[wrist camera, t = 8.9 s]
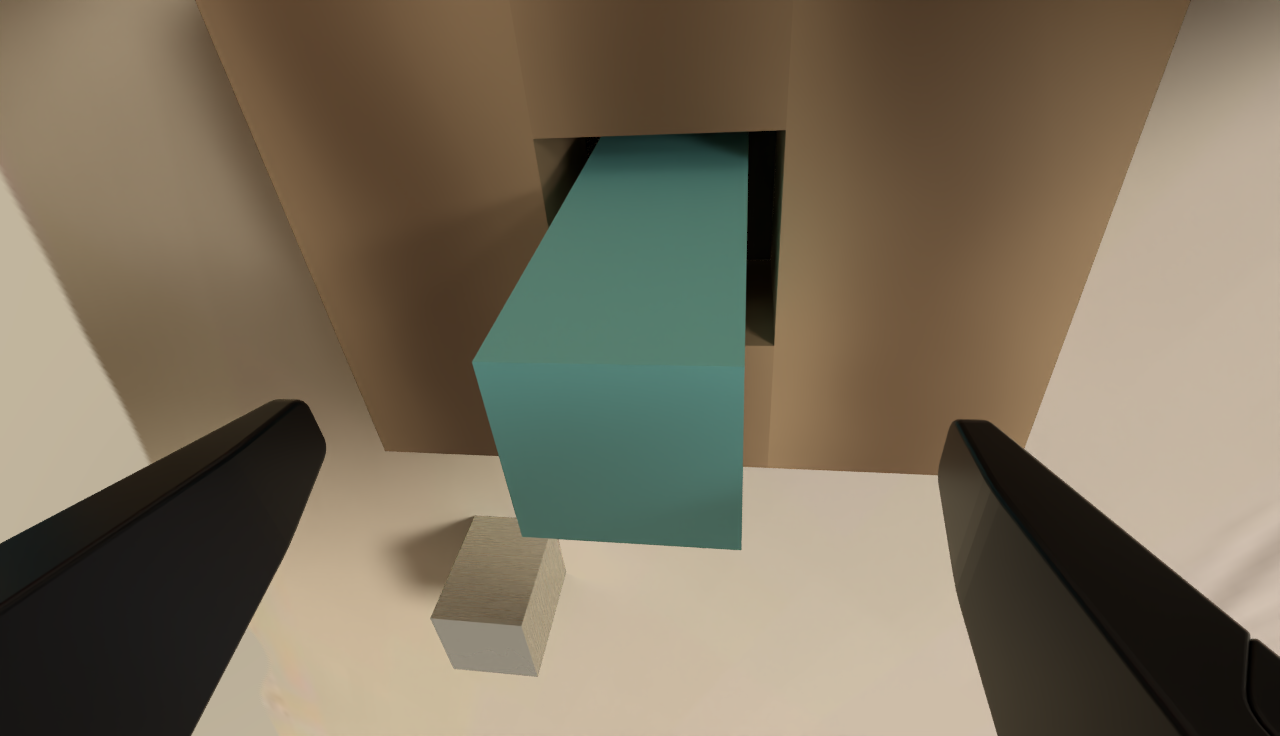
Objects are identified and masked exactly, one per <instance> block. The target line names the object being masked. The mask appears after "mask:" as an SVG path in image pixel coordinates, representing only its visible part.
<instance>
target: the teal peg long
mask: <svg viewBox="0 0 1280 736" xmlns="http://www.w3.org/2000/svg"><path fill="white" fill-rule="evenodd" d="M748 146H749V131H746V132H717V133H688V134H659V135H631V136H602V137H601V138H600V140H599V141H598V143H597V145H596V147H595V148H594V150H593V152H592V154H591V155H590V157H589V159H588V161H587V162H586V164H585V166H584V168H583V169H582V171H581V173H580V174H579V176H578V178H577V180H576V181H575V183H574V185H573V187H572V188H571V190H570V192H569V194H568V195H567V197H566V199H565V201H564V202H563V204H562V206H561V208H560V209H559V211H558V213H557V215H556V216H555V218H554V220H553V222H552V223H551V225H550V227H549V229H548V230H547V232H546V234H545V236H544V237H543V239H542V241H541V242H540V244H539V246H538V248H537V249H536V251H535V253H534V255H533V256H532V258H531V260H530V262H529V263H528V265H527V267H526V269H525V270H524V272H523V274H522V276H521V277H520V279H519V281H518V283H517V284H516V286H515V288H514V290H513V291H512V293H511V295H510V297H509V298H508V300H507V302H506V304H505V305H504V307H503V309H502V310H501V312H500V314H499V316H498V317H497V319H496V321H495V323H494V324H493V326H492V328H491V330H490V331H489V333H488V335H487V337H486V338H485V340H484V342H483V344H482V345H481V347H480V349H479V351H478V352H477V354H476V356H475V358H474V359H473V361H472V364H473V368H474V371H475V375H476V378H477V381H478V385H479V388H480V392H481V395H482V399H483V402H484V406H485V409H486V413H487V416H488V420H489V423H490V427H491V430H492V434H493V437H494V441H495V444H496V448H497V451H498V455H499V458H500V462H501V465H502V469H503V472H504V476H505V479H506V483H507V486H508V489H509V493H510V496H511V500H512V503H513V507H514V510H515V514H516V517H517V521H518V524H519V528H520V531H521V535H522V537H532V538H549V539H565V540H582V541H598V542H615V543H631V544H648V545H664V546H681V547H697V548H714V549H730V550H741V539H742V483H743V428H744V373H745V316H746V259H747V203H748Z"/></svg>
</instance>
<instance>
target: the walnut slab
mask: <svg viewBox="0 0 1280 736" xmlns="http://www.w3.org/2000/svg"><path fill="white" fill-rule="evenodd" d="M195 1H196V3H197V6H198V8H199V11H200V13H201V15H202V18H203V20H204V22H205V25H206V27H207V29H208V32H209V34H210V37H211V39H212V41H213V44H214V46H215V48H216V51H217V53H218V56H219V58H220V60H221V63H222V65H223V67H224V70H225V72H226V75H227V77H228V79H229V82H230V84H231V86H232V89H233V91H234V93H235V96H236V98H237V101H238V103H239V105H240V108H241V110H242V112H243V115H244V117H245V120H246V122H247V124H248V127H249V129H250V131H251V134H252V136H253V139H254V141H255V143H256V146H257V148H258V150H259V153H260V155H261V157H262V160H263V162H264V165H265V167H266V169H267V172H268V174H269V176H270V179H271V181H272V184H273V186H274V188H275V191H276V193H277V195H278V198H279V200H280V203H281V205H282V207H283V210H284V212H285V214H286V217H287V219H288V221H289V224H290V226H291V229H292V231H293V233H294V236H295V238H296V240H297V243H298V245H299V248H300V250H301V252H302V255H303V257H304V259H305V262H306V264H307V267H308V269H309V271H310V274H311V276H312V278H313V281H314V283H315V285H316V288H317V290H318V293H319V295H320V297H321V300H322V302H323V304H324V307H325V309H326V312H327V314H328V316H329V319H330V321H331V323H332V326H333V328H334V331H335V333H336V335H337V338H338V340H339V342H340V345H341V347H342V349H343V352H344V354H345V357H346V359H347V361H348V364H349V366H350V368H351V371H352V373H353V376H354V378H355V380H356V383H357V385H358V387H359V390H360V392H361V395H362V397H363V399H364V402H365V404H366V406H367V409H368V411H369V413H370V416H371V418H372V421H373V423H374V425H375V428H376V430H377V432H378V435H379V437H380V440H381V442H382V444H383V447H384V449H385V451H397V452H419V453H442V454H465V455H488V456H499V455H498V451H497V448H496V444H495V441H494V437H493V434H492V430H491V427H490V423H489V420H488V416H487V413H486V409H485V406H484V402H483V399H482V395H481V392H480V388H479V385H478V381H477V378H476V375H475V371H474V368H473V364H472V361H473V359H474V358H475V356H476V354H477V352H478V351H479V349H480V347H481V345H482V344H483V342H484V340H485V338H486V337H487V335H488V333H489V331H490V330H491V328H492V326H493V324H494V323H495V321H496V319H497V317H498V316H499V314H500V312H501V310H502V309H503V307H504V305H505V304H506V302H507V300H508V298H509V297H510V295H511V293H512V291H513V290H514V288H515V286H516V284H517V283H518V281H519V279H520V277H521V276H522V274H523V272H524V270H525V269H526V267H527V265H528V263H529V262H530V260H531V258H532V256H533V255H534V253H535V251H536V249H537V248H538V246H539V244H540V242H541V241H542V239H543V237H544V236H545V234H546V232H547V230H548V229H549V227H550V225H551V223H552V222H553V220H554V218H555V216H556V215H557V213H558V211H559V209H560V208H561V206H562V204H563V202H564V201H565V199H566V197H567V195H568V194H569V192H570V190H571V188H572V187H573V185H574V183H575V181H576V180H577V178H578V176H579V174H580V173H581V171H582V169H583V168H584V166H585V164H586V162H587V161H588V157H587V149H586V141H585V137H602V136H631V135H659V134H688V133H717V132H746V131H775V130H777V131H776V152H775V174H774V195H773V217H772V239H771V260H746V316H745V373H744V428H743V467H763V468H786V469H809V470H832V471H854V472H877V473H900V474H923V475H938V468H939V463H940V459H941V455H942V452H943V448H944V444H945V441H946V437H947V433H948V430H949V427H950V425H951V423H952V422H953V421H955V420H957V419H978V420H987V421H989V422H991V423H993V424H994V425H995V426H996V427H998V428H999V429H1000V430H1001V431H1003V432H1004V433H1005V434H1006V435H1008V436H1009V437H1010V438H1011V439H1012V440H1014V441H1015V442H1016V443H1017V444H1019V445H1020V446H1021V447H1022V448H1025V445H1026V442H1027V439H1028V437H1029V434H1030V431H1031V429H1032V426H1033V423H1034V421H1035V418H1036V415H1037V413H1038V410H1039V407H1040V404H1041V402H1042V399H1043V396H1044V394H1045V391H1046V388H1047V386H1048V383H1049V380H1050V378H1051V375H1052V372H1053V369H1054V367H1055V364H1056V361H1057V359H1058V356H1059V353H1060V351H1061V348H1062V345H1063V343H1064V340H1065V337H1066V335H1067V332H1068V329H1069V326H1070V324H1071V321H1072V318H1073V316H1074V313H1075V310H1076V308H1077V305H1078V302H1079V300H1080V297H1081V294H1082V291H1083V289H1084V286H1085V283H1086V281H1087V278H1088V275H1089V273H1090V270H1091V267H1092V265H1093V262H1094V259H1095V256H1096V254H1097V251H1098V248H1099V246H1100V243H1101V240H1102V238H1103V235H1104V232H1105V230H1106V227H1107V224H1108V221H1109V219H1110V216H1111V213H1112V211H1113V208H1114V205H1115V203H1116V200H1117V197H1118V195H1119V192H1120V189H1121V186H1122V184H1123V181H1124V178H1125V176H1126V173H1127V170H1128V168H1129V165H1130V162H1131V160H1132V157H1133V154H1134V152H1135V149H1136V146H1137V143H1138V141H1139V138H1140V135H1141V133H1142V130H1143V127H1144V125H1145V122H1146V119H1147V117H1148V114H1149V111H1150V108H1151V106H1152V103H1153V100H1154V98H1155V95H1156V92H1157V90H1158V87H1159V84H1160V82H1161V79H1162V76H1163V73H1164V71H1165V68H1166V65H1167V63H1168V60H1169V57H1170V55H1171V52H1172V49H1173V47H1174V44H1175V41H1176V38H1177V36H1178V33H1179V30H1180V28H1181V25H1182V22H1183V20H1184V17H1185V14H1186V12H1187V9H1188V6H1189V3H1190V1H1191V0H195Z"/></svg>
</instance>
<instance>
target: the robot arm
mask: <svg viewBox="0 0 1280 736" xmlns="http://www.w3.org/2000/svg"><path fill="white" fill-rule="evenodd" d="M325 454H326V442H325V439H324V437H323V435H322V433H321V431H320V429H319V426H318V424H317V422H316V420H315V418H314V416H313V414H312V412H311V410H310V408H309V406H308V405H307V404H306V403H305V402H303V401H301V400H290V399H277V400H273V401H270V402H268V403H267V404H265V405H263V406H261V407H259V408H257V409H255V410H253V411H251V412H249V413H248V414H246V415H244V416H242V417H240V418H238V419H236V420H234V421H232V422H230V423H229V424H227V425H225V426H223V427H221V428H219V429H217V430H215V431H213V432H211V433H209V434H208V435H206V436H204V437H202V438H200V439H198V440H196V441H194V442H192V443H190V444H189V445H187V446H185V447H183V448H181V449H179V450H177V451H175V452H173V453H171V454H170V455H168V456H166V457H164V458H162V459H160V460H158V461H156V462H154V463H152V464H151V465H149V466H147V467H145V468H143V469H141V470H139V471H137V472H135V473H134V474H132V475H130V476H128V477H126V478H124V479H122V480H120V481H118V482H116V483H115V484H113V485H111V486H109V487H107V488H105V489H103V490H101V491H100V492H98V493H95V494H94V495H92V496H90V497H88V498H86V499H84V500H82V501H80V502H78V503H76V504H75V505H73V506H71V507H69V508H67V509H65V510H63V511H61V512H59V513H57V514H56V515H54V516H52V517H50V518H48V519H46V520H44V521H42V522H40V523H39V524H37V525H35V526H33V527H31V528H29V529H27V530H25V531H23V532H21V533H20V534H18V535H16V536H14V537H12V538H10V539H8V540H6V541H4V542H2V543H1V544H0V736H191V735H192V733H193V731H194V729H195V727H196V725H197V723H198V721H199V720H200V718H201V716H202V714H203V712H204V710H205V708H206V706H207V704H208V702H209V700H210V698H211V696H212V694H213V693H214V691H215V689H216V687H217V685H218V683H219V681H220V679H221V677H222V675H223V673H224V671H225V669H226V667H227V666H228V664H229V662H230V660H231V658H232V656H233V654H234V652H235V650H236V648H237V646H238V644H239V642H240V641H241V639H242V636H243V635H244V633H245V631H246V629H247V627H248V625H249V623H250V621H251V619H252V618H253V616H254V614H255V612H256V610H257V608H258V606H259V604H260V602H261V600H262V598H263V596H264V594H265V592H266V591H267V589H268V587H269V585H270V583H271V581H272V579H273V577H274V575H275V573H276V571H277V569H278V567H279V566H280V564H281V562H282V560H283V558H284V556H285V554H286V551H287V549H288V547H289V545H290V543H291V541H292V538H293V536H294V533H295V531H296V529H297V526H298V524H299V521H300V519H301V516H302V514H303V511H304V508H305V506H306V503H307V501H308V498H309V496H310V493H311V491H312V488H313V486H314V483H315V481H316V478H317V476H318V473H319V471H320V468H321V466H322V463H323V461H324V458H325ZM938 483H939V490H940V496H941V502H942V508H943V515H944V521H945V527H946V533H947V540H948V546H949V552H950V558H951V565H952V571H953V576H954V582H955V587H956V592H957V596H958V600H959V604H960V608H961V611H962V615H963V618H964V622H965V625H966V628H967V632H968V635H969V639H970V642H971V646H972V649H973V653H974V656H975V659H976V663H977V666H978V670H979V673H980V677H981V680H982V684H983V687H984V690H985V694H986V697H987V701H988V704H989V708H990V711H991V715H992V718H993V721H994V725H995V728H996V732H997V735H998V736H1280V657H1279V656H1278V655H1277V654H1276V653H1274V652H1273V651H1272V650H1271V649H1269V648H1268V647H1267V646H1266V645H1265V644H1263V643H1262V642H1261V641H1260V640H1258V639H1250V633H1249V632H1248V631H1247V630H1246V629H1245V628H1243V627H1242V626H1241V625H1240V624H1238V623H1237V622H1236V621H1235V620H1233V619H1232V618H1231V617H1230V616H1229V615H1227V614H1226V613H1225V612H1224V611H1222V610H1221V609H1220V608H1219V607H1218V606H1216V605H1215V604H1214V603H1213V602H1211V601H1210V600H1209V599H1208V598H1206V597H1205V596H1204V595H1203V594H1202V593H1200V592H1199V591H1198V590H1197V589H1195V588H1194V587H1193V586H1192V585H1190V584H1189V583H1188V582H1187V581H1186V580H1184V579H1183V578H1182V577H1181V576H1179V575H1178V574H1177V573H1176V572H1175V571H1173V570H1172V569H1171V568H1170V567H1168V566H1167V565H1166V564H1165V563H1163V562H1162V561H1161V560H1160V559H1159V558H1157V557H1156V556H1155V555H1154V554H1152V553H1151V552H1150V551H1149V550H1148V549H1146V548H1145V547H1144V546H1143V545H1141V544H1140V543H1139V542H1138V541H1136V540H1135V539H1134V538H1133V537H1132V536H1130V535H1129V534H1128V533H1127V532H1125V531H1124V530H1123V529H1122V528H1121V527H1119V526H1118V525H1117V524H1116V523H1114V522H1113V521H1112V520H1111V519H1109V518H1108V517H1107V516H1106V515H1105V514H1103V513H1102V512H1101V511H1100V510H1098V509H1097V508H1096V507H1095V506H1093V505H1092V504H1091V503H1090V502H1089V501H1087V500H1086V499H1085V498H1084V497H1082V496H1081V495H1080V494H1079V493H1078V492H1076V491H1075V490H1074V489H1073V488H1071V487H1070V486H1069V485H1068V484H1066V483H1065V482H1064V481H1063V480H1062V479H1060V478H1059V477H1058V476H1057V475H1055V474H1054V473H1053V472H1052V471H1051V470H1049V469H1048V468H1047V467H1046V466H1044V465H1043V464H1042V463H1041V462H1039V461H1038V460H1037V459H1036V458H1035V457H1033V456H1032V455H1031V454H1030V453H1028V452H1027V451H1026V450H1025V449H1024V448H1022V447H1021V446H1020V445H1019V444H1017V443H1016V442H1015V441H1014V440H1012V439H1011V438H1010V437H1009V436H1008V435H1006V434H1005V433H1004V432H1003V431H1001V430H1000V429H999V428H998V427H996V426H995V425H994V424H993V423H991V422H989V421H987V420H978V419H957V420H955V421H953V422H952V423H951V425H950V427H949V430H948V433H947V437H946V441H945V444H944V448H943V452H942V455H941V459H940V463H939V468H938Z"/></svg>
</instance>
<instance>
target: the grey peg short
mask: <svg viewBox="0 0 1280 736" xmlns="http://www.w3.org/2000/svg"><path fill="white" fill-rule="evenodd" d="M565 574H566V569H565V565H564V561H563V557H562V552H561V548H560V544H559V539H549V538H532V537H522V535H521V531H520V528H519V524H518V521H517V518H508V517H491V516H475V517H474V519H473V521H472V523H471V526H470V528H469V530H468V533H467V535H466V537H465V540H464V542H463V544H462V547H461V549H460V551H459V553H458V556H457V558H456V560H455V563H454V565H453V567H452V570H451V572H450V574H449V577H448V579H447V581H446V583H445V586H444V588H443V590H442V593H441V595H440V597H439V600H438V602H437V604H436V607H435V609H434V611H433V613H432V616H431V618H430V619H431V621H432V623H433V625H434V627H435V629H436V632H437V634H438V636H439V638H440V640H441V642H442V645H443V647H444V649H445V651H446V653H447V655H448V657H449V660H450V662H451V664H452V666H453V668H454V669H463V670H473V671H483V672H493V673H504V674H514V675H524V676H534V677H538V674H539V670H540V667H541V663H542V659H543V656H544V652H545V648H546V644H547V641H548V637H549V633H550V630H551V626H552V622H553V618H554V615H555V611H556V607H557V603H558V600H559V596H560V592H561V589H562V585H563V581H564V577H565Z"/></svg>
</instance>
